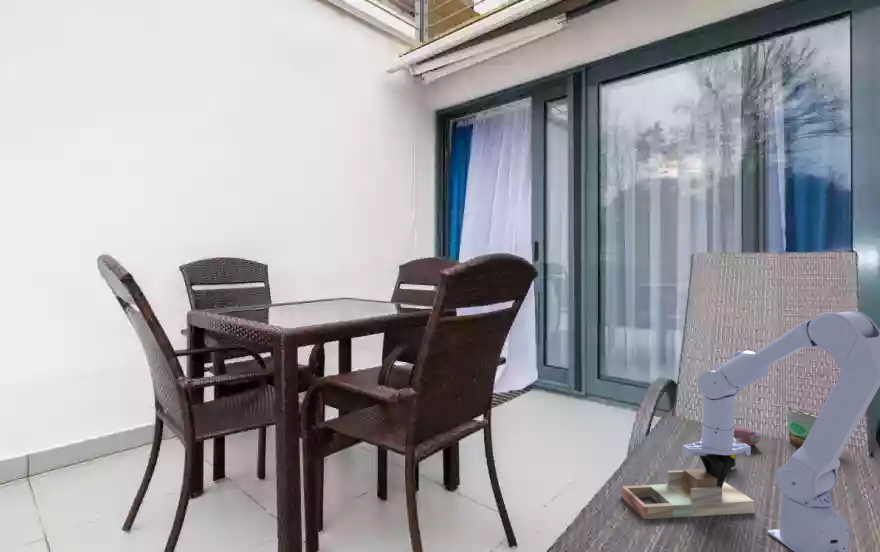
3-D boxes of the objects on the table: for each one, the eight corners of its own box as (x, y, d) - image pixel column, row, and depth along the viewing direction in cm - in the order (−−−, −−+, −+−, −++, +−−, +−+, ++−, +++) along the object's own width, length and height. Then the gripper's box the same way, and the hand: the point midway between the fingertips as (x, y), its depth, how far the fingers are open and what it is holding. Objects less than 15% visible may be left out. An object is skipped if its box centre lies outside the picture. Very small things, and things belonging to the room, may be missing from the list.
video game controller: (719, 449, 130) (723, 432, 127) (714, 437, 134) (718, 420, 131) (758, 454, 127) (763, 436, 124) (753, 441, 131) (758, 424, 128)
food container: (774, 441, 133) (775, 407, 133) (786, 438, 136) (787, 405, 135) (824, 457, 122) (825, 421, 122) (836, 453, 124) (837, 418, 124)
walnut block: (716, 497, 95) (717, 478, 95) (696, 498, 94) (697, 479, 94) (701, 486, 99) (702, 468, 99) (682, 487, 99) (683, 469, 98)
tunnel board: (754, 512, 93) (754, 486, 93) (643, 519, 90) (644, 492, 90) (723, 492, 102) (724, 468, 102) (621, 497, 99) (622, 472, 99)
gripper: (733, 418, 101) (731, 477, 102) (674, 420, 100) (672, 480, 100) (759, 429, 94) (757, 493, 95) (696, 431, 93) (694, 496, 93)
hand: (715, 487), depth 97 cm, fingers closed
